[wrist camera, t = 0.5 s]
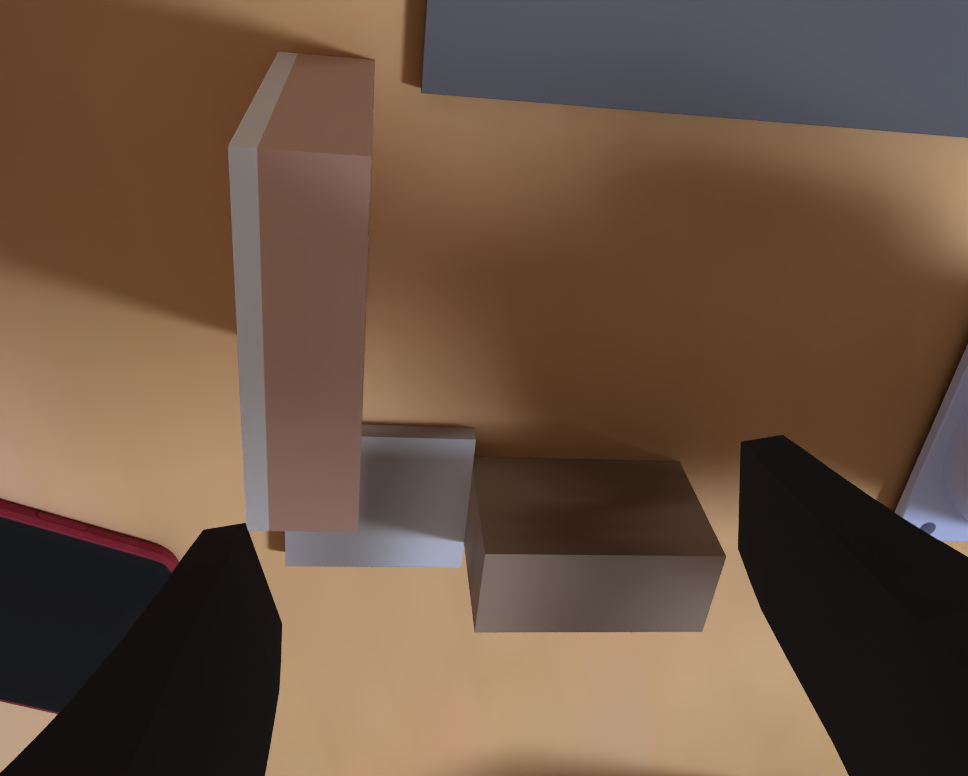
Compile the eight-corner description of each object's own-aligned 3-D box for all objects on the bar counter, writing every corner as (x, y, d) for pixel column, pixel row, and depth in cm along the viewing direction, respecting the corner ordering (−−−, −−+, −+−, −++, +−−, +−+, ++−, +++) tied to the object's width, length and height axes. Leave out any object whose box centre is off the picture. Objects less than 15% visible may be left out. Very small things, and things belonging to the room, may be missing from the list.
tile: (374, 59, 18) (371, 156, 13) (364, 349, 22) (357, 532, 16) (278, 51, 18) (228, 146, 12) (283, 346, 22) (246, 530, 16)
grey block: (686, 433, 24) (735, 526, 21) (654, 555, 27) (694, 657, 23) (285, 421, 23) (268, 519, 20) (287, 551, 25) (272, 660, 22)
